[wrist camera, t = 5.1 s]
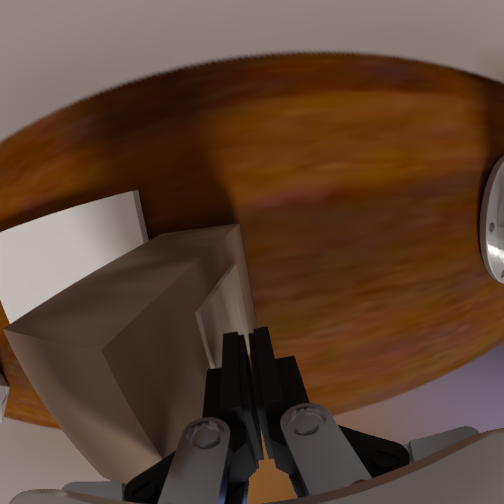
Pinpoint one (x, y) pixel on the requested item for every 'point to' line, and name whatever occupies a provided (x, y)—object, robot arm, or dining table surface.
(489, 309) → the dining table surface
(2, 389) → the die
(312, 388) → the dining table surface
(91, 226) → the board
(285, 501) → the robot arm
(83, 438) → the walnut block
